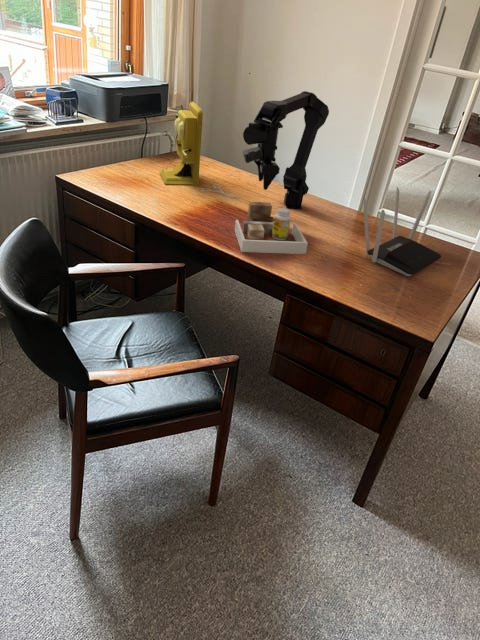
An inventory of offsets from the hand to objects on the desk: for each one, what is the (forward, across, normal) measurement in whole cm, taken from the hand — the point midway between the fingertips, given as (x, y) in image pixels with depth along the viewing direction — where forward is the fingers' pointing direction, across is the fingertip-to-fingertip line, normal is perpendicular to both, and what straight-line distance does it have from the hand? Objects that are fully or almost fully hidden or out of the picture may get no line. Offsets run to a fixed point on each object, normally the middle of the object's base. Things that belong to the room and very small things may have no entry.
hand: (262, 185), depth 175 cm
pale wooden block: (+12, +19, -5) cm, 23 cm away
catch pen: (+12, +23, -1) cm, 26 cm away
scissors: (+12, -22, -11) cm, 28 cm away
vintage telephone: (+12, -38, -29) cm, 50 cm away
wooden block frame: (+12, +9, -1) cm, 15 cm away
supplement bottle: (+12, +19, +4) cm, 23 cm away
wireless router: (+12, +32, +42) cm, 54 cm away
